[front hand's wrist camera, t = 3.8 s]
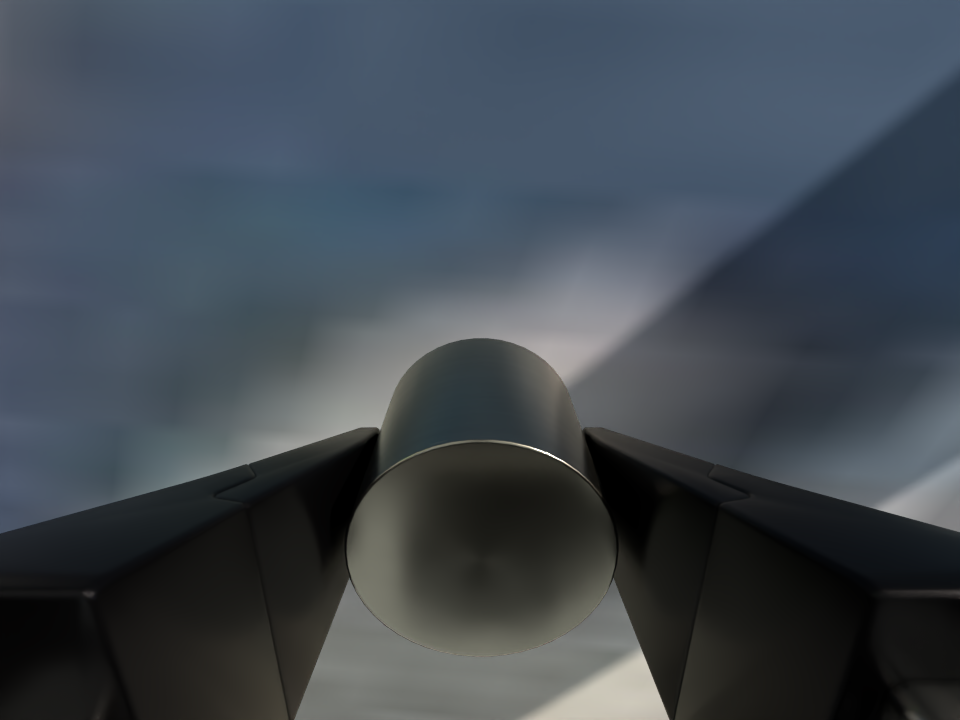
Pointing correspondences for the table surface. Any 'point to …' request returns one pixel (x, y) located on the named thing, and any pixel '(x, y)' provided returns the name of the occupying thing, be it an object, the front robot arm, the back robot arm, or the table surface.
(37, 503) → the table surface
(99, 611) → the front robot arm
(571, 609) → the tin
